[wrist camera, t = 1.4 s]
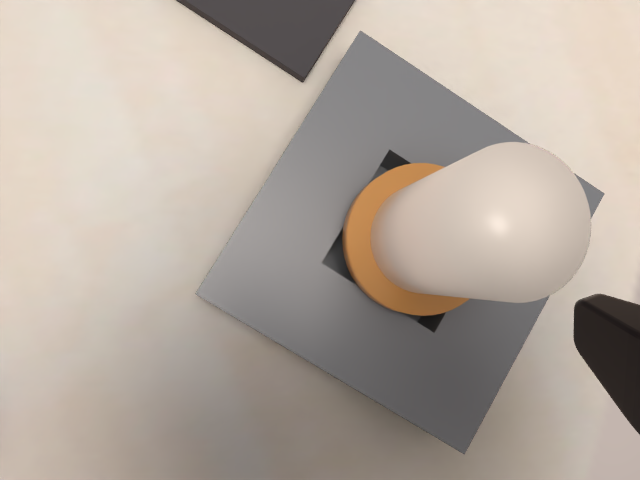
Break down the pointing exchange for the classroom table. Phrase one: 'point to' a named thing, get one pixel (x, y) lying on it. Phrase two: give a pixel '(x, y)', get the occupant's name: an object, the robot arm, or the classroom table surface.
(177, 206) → the classroom table surface
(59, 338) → the classroom table surface
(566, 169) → the plug
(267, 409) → the classroom table surface
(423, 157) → the socket block
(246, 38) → the mat
